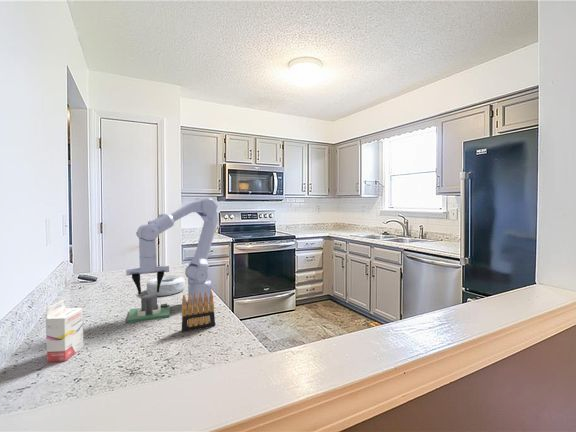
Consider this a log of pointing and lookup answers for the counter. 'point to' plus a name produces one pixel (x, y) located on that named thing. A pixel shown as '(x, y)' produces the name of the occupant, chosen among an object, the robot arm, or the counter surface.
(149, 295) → the plug
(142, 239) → the robot arm
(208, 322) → the ammunition clip
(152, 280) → the cable
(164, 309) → the board
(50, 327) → the ink cartridge box
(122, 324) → the counter surface
